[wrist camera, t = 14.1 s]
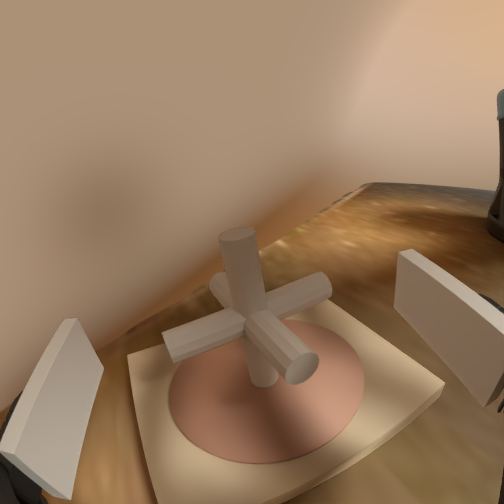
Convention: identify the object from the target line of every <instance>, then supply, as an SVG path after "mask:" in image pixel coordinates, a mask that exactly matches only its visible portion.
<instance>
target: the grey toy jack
mask: <svg viewBox="0 0 504 504" xmlns="http://www.w3.org/2000/svg"><path fill="white" fill-rule="evenodd" d="M218 238H219V244H220V248H221V253H222V258H223V262H224V267H225V271H226V272H218V273H217V274H215V275H214V276H212V278H211V280H210V282H209V289H210V291H211V292H212V294H213V295H214V296H215V297H216V299H217V300H218V301H219V302H220V304H221V305H222V306H223V307H224V309H223V310H221V311H218V312H215V313H213V314H210V315H208V316H205V317H202V318H200V319H197V320H194V321H191V322H189V323H186V324H183V325H181V326H178V327H175V328H172V329H169V330H167V331H164V332H161V333H162V336H163V338H164V341H165V343H166V346H167V349H168V351H169V353H170V356H171V358H172V360H173V363H174V364H175V363H178V362H181V361H183V360H186V359H189V358H191V357H194V356H197V355H199V354H202V353H204V352H207V351H210V350H212V349H215V348H217V347H220V346H222V345H225V344H227V343H230V342H232V341H234V340H237V339H239V338H241V341H242V345H243V350H244V354H245V358H246V362H247V366H248V370H249V374H250V378H251V381H252V383H253V384H254V385H255V386H257V387H269V386H271V385H273V384H274V383H275V382H276V381H277V380H278V373H279V374H280V375H281V376H282V377H283V378H284V379H285V381H286V382H287V383H288V384H292V385H297V384H300V383H303V382H305V381H306V380H307V379H309V378H310V377H311V376H312V375H313V374H314V372H315V371H316V370H317V368H318V364H319V358H318V355H317V354H316V353H315V352H314V351H313V350H312V349H311V348H310V347H309V346H307V345H306V344H305V343H304V342H303V341H302V340H301V339H300V338H299V337H297V336H296V335H295V334H294V333H293V332H292V331H291V330H290V329H289V328H287V327H286V326H285V325H284V324H283V323H282V322H281V320H283V319H285V318H288V317H290V316H292V315H294V314H296V313H298V312H301V311H303V310H305V309H307V308H309V307H311V306H313V305H315V304H318V303H320V302H322V301H324V300H326V299H328V298H329V297H331V296H332V286H331V282H330V280H329V279H328V277H327V276H326V275H325V274H324V273H323V272H320V271H318V272H315V273H313V274H310V275H308V276H306V277H303V278H301V279H298V280H296V281H294V282H291V283H289V284H286V285H284V286H282V287H279V288H277V289H274V290H272V291H269V292H267V293H265V289H264V283H263V276H262V270H261V264H260V258H259V252H258V246H257V240H256V234H255V230H254V229H253V228H249V227H238V228H233V229H230V230H227V231H224V232H222V233H221V234H220V235H219V236H218Z"/></svg>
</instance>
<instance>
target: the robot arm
mask: <svg viewBox="0 0 504 504" xmlns="http://www.w3.org/2000/svg"><path fill="white" fill-rule="evenodd" d="M497 110H498V116H497V120H499V139H500V178H499V183H498V186H497V189H496V192H495V195H494V198H493V201H492V203H491V206H490V209H489V211H488V217H487V229H488V230H489V232H490V233H491V234H493V235H494V236H495V237H497V238H498V239H500V240H502V241H503V242H504V89H502V90H501V91H500V92H499V93H498V95H497ZM393 308H394V309H395V310H396V311H397V312H398V313H399V314H400V315H401V316H402V317H403V318H404V319H405V321H406V322H407V323H408V324H409V325H410V326H411V327H412V328H413V329H414V330H415V331H416V332H417V333H418V334H419V335H420V336H421V337H422V339H423V340H424V341H425V342H426V343H427V344H428V345H429V346H430V347H431V348H432V349H433V350H434V352H435V353H436V354H437V355H438V356H439V357H440V358H441V359H442V360H443V362H444V363H445V364H446V365H447V366H448V367H449V368H450V369H451V371H452V372H453V373H454V374H455V375H456V376H457V377H458V379H459V380H460V381H461V382H462V383H463V384H464V386H465V387H466V388H467V389H468V390H469V391H470V393H471V394H472V395H473V396H474V397H475V398H476V400H477V401H478V402H479V403H480V405H481V406H482V407H483V408H485V407H486V406H488V405H489V404H490V403H492V402H493V401H494V400H496V399H497V398H498V397H499V395H500V393H501V391H502V390H503V388H504V308H502V307H500V305H499V304H497V303H496V302H495V301H493V300H492V299H491V298H488V297H486V296H483V295H481V294H477V293H475V292H474V291H473V290H471V289H470V288H469V287H467V286H466V285H465V284H463V283H462V282H460V281H459V280H458V279H456V278H455V277H453V276H452V275H450V274H449V273H448V272H446V271H445V270H443V269H442V268H440V267H439V266H437V265H436V264H435V263H433V262H432V261H430V260H429V259H427V258H426V257H424V256H423V255H421V254H420V253H418V252H416V251H415V250H413V249H408V250H404V251H400V252H398V257H397V273H396V286H395V296H394V306H393ZM103 371H104V367H103V365H102V363H101V362H100V360H99V358H98V356H97V354H96V353H95V351H94V349H93V347H92V345H91V343H90V341H89V339H88V338H87V336H86V333H85V331H84V330H83V327H82V326H81V323H80V321H79V319H78V318H71V319H64V320H63V321H62V323H61V324H60V326H59V327H58V329H57V331H56V333H55V334H54V336H53V337H52V339H51V341H50V343H49V344H48V346H47V348H46V350H45V351H44V353H43V355H42V357H41V359H40V360H39V362H38V364H37V366H36V368H35V369H34V371H33V373H32V375H31V377H30V379H29V381H28V383H27V385H26V387H25V389H24V390H23V391H22V392H21V393H20V394H19V395H18V397H17V398H16V399H15V400H14V402H13V404H12V406H11V408H10V410H9V411H10V413H8V414H7V417H6V421H4V423H3V426H2V428H1V430H0V504H48V502H47V500H46V499H45V498H44V496H42V495H41V492H42V489H44V490H45V491H46V492H48V493H49V494H51V495H52V496H53V497H58V498H62V499H67V500H71V497H72V491H73V486H74V481H75V476H76V471H77V466H78V462H79V457H80V453H81V449H82V444H83V440H84V436H85V432H86V429H87V425H88V421H89V417H90V414H91V410H92V407H93V403H94V400H95V396H96V393H97V390H98V386H99V383H100V380H101V377H102V374H103ZM503 407H504V399H503V401H502V402H501V404H500V406H499V407H498V412H499V413H500V412H501V410H502V408H503ZM503 413H504V412H503ZM498 504H504V469H503V477H502V485H501V491H500V497H499V503H498Z"/></svg>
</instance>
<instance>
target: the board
mask: <svg viewBox="0 0 504 504" xmlns="http://www.w3.org/2000/svg"><path fill="white" fill-rule="evenodd" d="M281 322H282V323H283V324H284V325H285V326H286V327H287V328H289V329H290V330H291V331H292V332H293V333H294V334H295V335H296V336H297V337H299V338H300V339H301V340H302V341H303V342H304V343H305V344H306V345H307V346H309V347H310V348H311V349H312V350H313V351H314V352H315V353H316V354H317V355H318V358H319V364H318V368H317V370H316V371H315V372H314V374H313V375H312V376H311V377H310V378H309V379H307V380H306V381H305V382H303V383H300V384H297V385H292V384H288V383H287V382H286V381H285V379H284V378H283V377H282V376H281V375H280V374H279V373H278V380H277V381H276V382H275V383H274V384H273V385H271V386H269V387H257V386H255V385H254V384H253V383H252V381H251V378H250V374H249V370H248V366H247V362H246V358H245V354H244V350H243V345H242V341H241V338H239V339H237V340H234V341H232V342H230V343H227V344H225V345H222V346H220V347H217V348H215V349H212V350H210V351H207V352H204V353H202V354H199V355H197V356H194V357H191V358H189V359H186V360H183V361H181V362H178V363H175V364H174V363H173V360H172V358H171V356H170V353H169V351H168V349H167V346H166V343H163V344H160V345H157V346H154V347H151V348H148V349H145V350H141V351H138V352H135V353H132V354H129V355H127V357H128V365H129V373H130V380H131V387H132V393H133V399H134V405H135V411H136V416H137V421H138V426H139V431H140V436H141V441H142V445H143V450H144V454H145V458H146V462H147V466H148V470H149V474H150V477H151V481H152V485H153V488H154V492H155V495H156V498H157V501H158V504H281V503H284V502H286V501H288V500H290V499H292V498H294V497H296V496H298V495H300V494H302V493H304V492H306V491H308V490H310V489H312V488H314V487H316V486H318V485H319V484H321V483H323V482H325V481H327V480H328V479H330V478H332V477H333V476H335V475H337V474H339V473H340V472H342V471H343V470H345V469H347V468H348V467H350V466H351V465H353V464H355V463H356V462H358V461H359V460H361V459H362V458H364V457H365V456H367V455H368V454H370V453H371V452H373V451H374V450H375V449H377V448H378V447H380V446H381V445H382V444H384V443H385V442H386V441H388V440H389V439H390V438H392V437H393V436H394V435H396V434H397V433H398V432H399V431H401V430H402V429H403V428H405V427H406V426H407V425H408V424H409V423H411V422H412V421H413V420H414V419H415V418H417V417H418V416H419V415H420V414H421V413H422V412H424V411H425V410H426V409H427V408H428V407H429V406H430V405H431V404H433V403H434V402H435V401H436V400H437V399H438V398H439V397H440V394H441V392H442V390H443V387H444V385H445V382H443V381H442V380H441V379H439V378H438V377H436V376H435V375H434V374H432V373H431V372H429V371H428V370H427V369H425V368H424V367H422V366H421V365H420V364H418V363H417V362H415V361H414V360H413V359H411V358H410V357H408V356H407V355H406V354H404V353H403V352H401V351H400V350H399V349H397V348H396V347H395V346H393V345H392V344H390V343H389V342H388V341H386V340H385V339H383V338H382V337H381V336H379V335H378V334H376V333H375V332H373V331H372V330H371V329H369V328H368V327H366V326H365V325H364V324H362V323H361V322H359V321H358V320H357V319H355V318H354V317H352V316H351V315H350V314H348V313H347V312H345V311H344V310H343V309H341V308H340V307H338V306H337V305H336V304H334V303H333V302H331V301H330V300H328V299H326V300H324V301H322V302H320V303H318V304H315V305H313V306H311V307H309V308H307V309H305V310H303V311H301V312H298V313H296V314H294V315H292V316H290V317H288V318H285V319H283V320H281Z"/></svg>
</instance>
